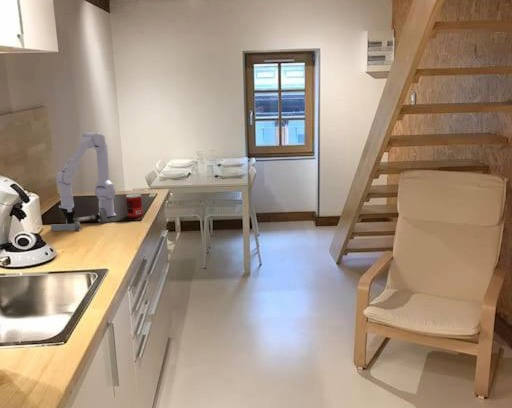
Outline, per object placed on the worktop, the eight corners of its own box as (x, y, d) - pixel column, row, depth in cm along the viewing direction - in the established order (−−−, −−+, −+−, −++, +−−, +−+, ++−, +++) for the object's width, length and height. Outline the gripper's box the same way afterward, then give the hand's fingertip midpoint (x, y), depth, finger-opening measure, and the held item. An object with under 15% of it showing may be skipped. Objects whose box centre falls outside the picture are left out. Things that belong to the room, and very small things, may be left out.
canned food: (144, 213, 275) (143, 193, 273) (140, 217, 268) (138, 196, 265) (130, 213, 276) (128, 193, 274) (125, 217, 269) (123, 196, 266)
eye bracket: (97, 220, 265) (96, 208, 263) (107, 219, 267) (106, 207, 265) (99, 223, 259) (98, 211, 258) (110, 221, 262) (108, 209, 260)
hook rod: (66, 225, 257) (65, 217, 256) (95, 220, 263) (95, 213, 262) (67, 226, 254) (66, 218, 253) (97, 222, 260) (96, 214, 259)
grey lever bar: (50, 230, 247) (50, 224, 247) (52, 229, 250) (51, 222, 249) (79, 230, 247) (78, 223, 246) (81, 228, 249) (80, 222, 249)
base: (73, 229, 249) (73, 229, 249) (81, 228, 251) (81, 228, 251) (74, 231, 246) (74, 231, 246) (82, 230, 248) (82, 230, 248)
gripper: (56, 194, 257) (59, 221, 260) (59, 200, 245) (63, 228, 248) (71, 192, 260) (74, 219, 263) (75, 198, 248) (78, 225, 251)
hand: (69, 223), depth 256 cm, fingers closed on hook rod, 4 cm apart
